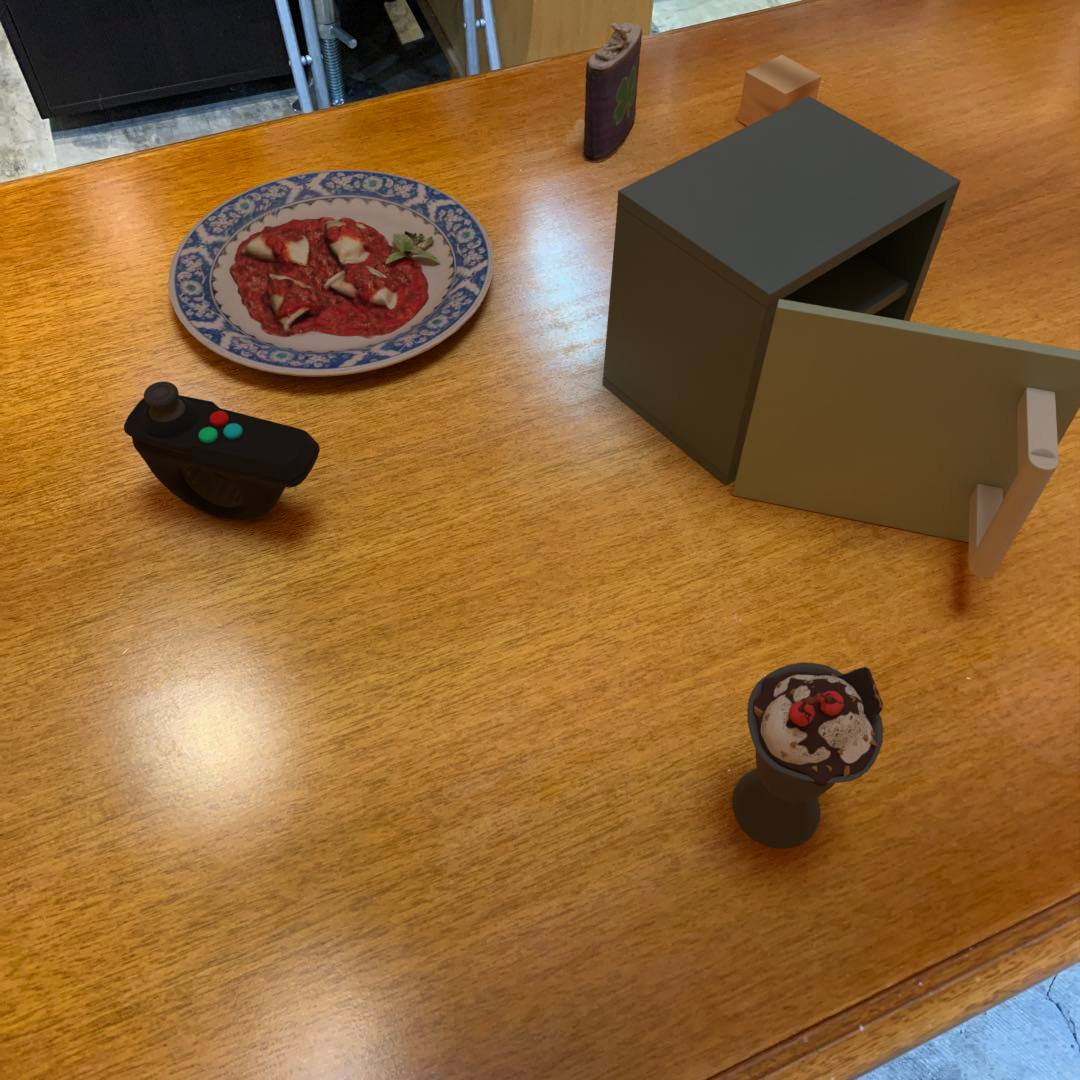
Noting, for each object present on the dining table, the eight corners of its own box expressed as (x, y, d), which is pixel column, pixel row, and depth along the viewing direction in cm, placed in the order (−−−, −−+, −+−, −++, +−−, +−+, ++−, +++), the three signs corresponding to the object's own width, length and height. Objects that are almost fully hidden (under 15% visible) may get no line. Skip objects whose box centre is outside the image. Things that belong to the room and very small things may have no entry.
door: (999, 625, 69) (1113, 445, 56) (718, 566, 71) (763, 381, 58) (999, 540, 73) (1104, 354, 60) (733, 487, 76) (778, 298, 62)
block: (772, 103, 106) (782, 54, 103) (810, 125, 104) (822, 75, 100) (736, 120, 104) (745, 71, 100) (775, 143, 102) (785, 93, 98)
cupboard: (889, 374, 83) (961, 180, 70) (725, 487, 76) (770, 294, 62) (765, 289, 89) (808, 95, 76) (601, 385, 82) (617, 190, 68)
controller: (176, 465, 76) (137, 359, 68) (339, 505, 74) (318, 401, 66) (146, 510, 74) (101, 406, 66) (314, 553, 72) (288, 450, 64)
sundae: (713, 855, 59) (762, 724, 47) (720, 746, 63) (767, 599, 52) (835, 874, 59) (915, 746, 47) (834, 763, 63) (908, 619, 51)
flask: (615, 109, 105) (624, -2, 97) (643, 117, 105) (654, 6, 96) (576, 158, 100) (582, 45, 92) (605, 166, 99) (614, 54, 91)
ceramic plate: (173, 416, 79) (163, 386, 77) (175, 207, 95) (167, 177, 92) (520, 372, 83) (520, 342, 80) (467, 177, 98) (466, 147, 96)
